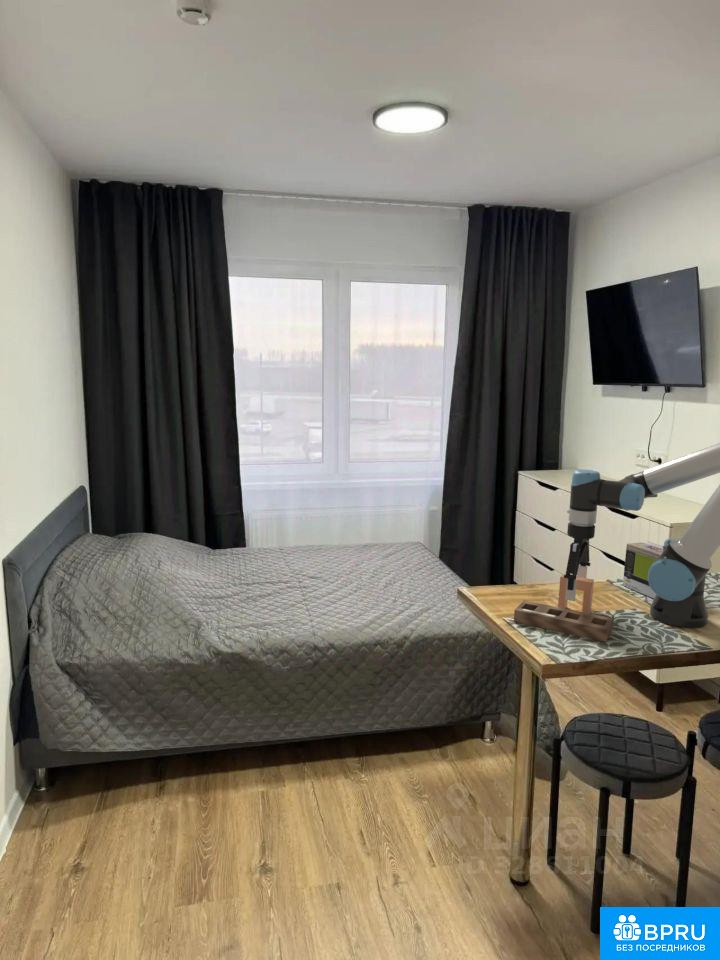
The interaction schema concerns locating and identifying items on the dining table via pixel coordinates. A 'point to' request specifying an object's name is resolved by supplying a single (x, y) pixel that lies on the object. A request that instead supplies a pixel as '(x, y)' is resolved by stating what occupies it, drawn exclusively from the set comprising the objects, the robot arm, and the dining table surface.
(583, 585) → the pink u-shaped block
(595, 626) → the brown compartment rack
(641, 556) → the grey electronic device
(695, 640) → the dining table surface
